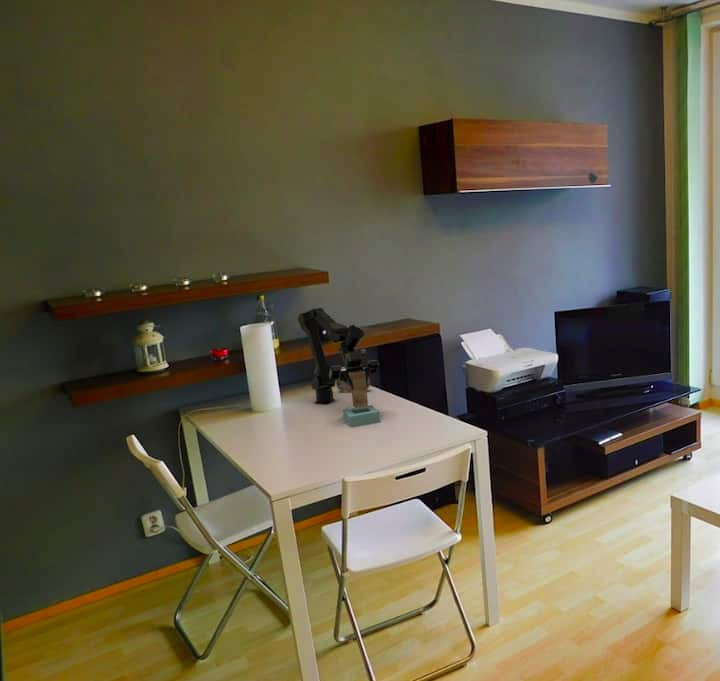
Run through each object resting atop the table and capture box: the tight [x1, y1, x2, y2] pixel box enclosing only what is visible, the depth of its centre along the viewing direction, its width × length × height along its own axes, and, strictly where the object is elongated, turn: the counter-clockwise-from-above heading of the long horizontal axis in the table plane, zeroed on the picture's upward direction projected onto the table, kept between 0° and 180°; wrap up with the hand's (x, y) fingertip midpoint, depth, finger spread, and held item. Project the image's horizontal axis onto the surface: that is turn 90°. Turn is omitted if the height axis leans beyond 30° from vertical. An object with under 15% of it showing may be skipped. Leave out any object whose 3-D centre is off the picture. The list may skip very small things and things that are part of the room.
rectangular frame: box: [342, 404, 381, 428], centre depth 230 cm, size 10×12×4 cm
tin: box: [336, 373, 371, 394], centre depth 271 cm, size 15×3×8 cm, turn 76°
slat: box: [349, 371, 369, 408], centre depth 228 cm, size 3×5×13 cm, turn 106°
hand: (360, 388), depth 226 cm, fingers closed on slat, 5 cm apart
